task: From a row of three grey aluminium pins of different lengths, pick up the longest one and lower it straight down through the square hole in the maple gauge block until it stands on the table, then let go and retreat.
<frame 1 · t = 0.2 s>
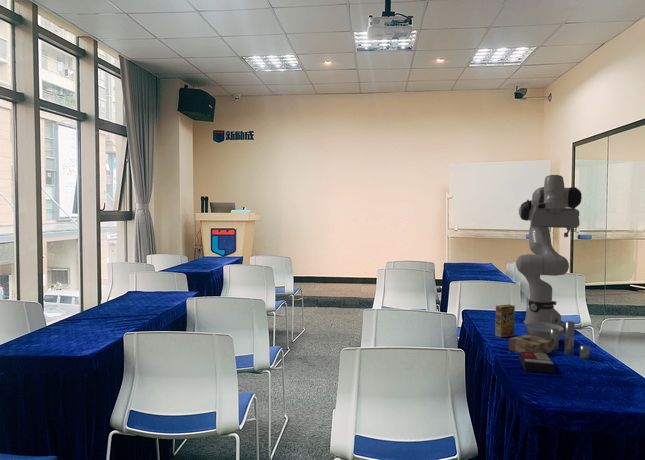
hand: (554, 236, 213), 52 cm above the table, tool tilted 20°, fingers open, 8 cm apart
short pin: (584, 357, 201), on the table
medium pin: (553, 348, 213), on the table
calculator: (535, 366, 191), on the table
cereal bowl: (544, 341, 226), on the table
long pin: (568, 353, 207), on the table
candy box: (504, 336, 233), on the table
gauge block: (529, 350, 210), on the table
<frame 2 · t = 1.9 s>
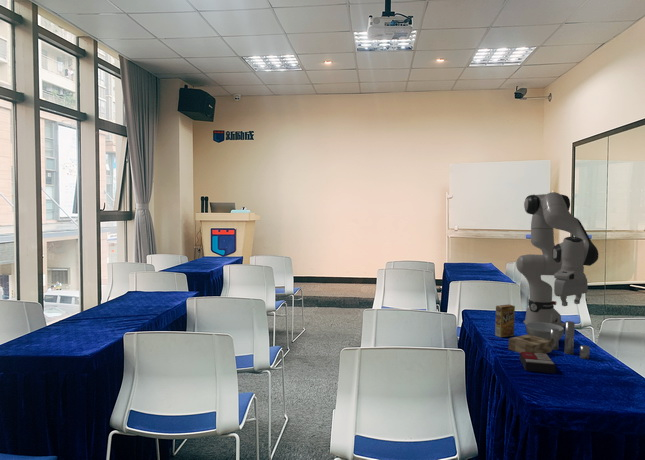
hand: (570, 304, 206), 22 cm above the table, tool pointing down, fingers open, 8 cm apart
nothing on the table moved.
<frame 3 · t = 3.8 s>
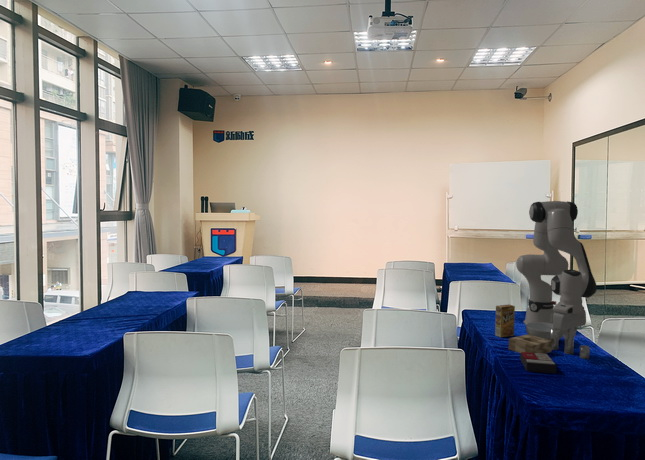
hand: (569, 337, 207), 7 cm above the table, tool pointing down, fingers closed on long pin, 4 cm apart
long pin: (568, 353, 207), on the table, touching gripper
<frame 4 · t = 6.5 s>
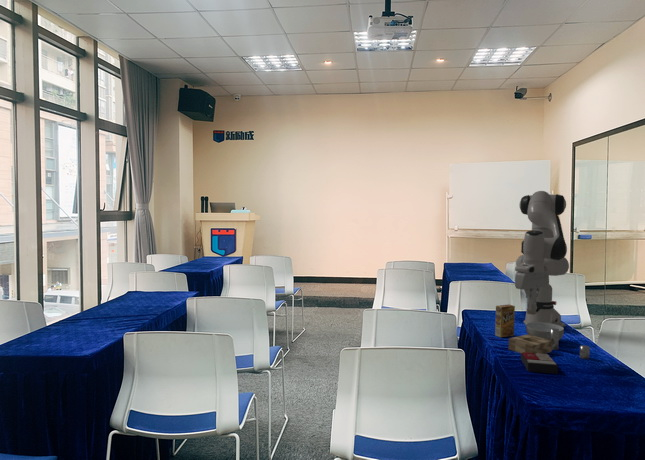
hand: (531, 297, 209), 24 cm above the table, tool pointing down, fingers closed on long pin, 4 cm apart
long pin: (531, 313, 209), point 17 cm above the table, touching gripper
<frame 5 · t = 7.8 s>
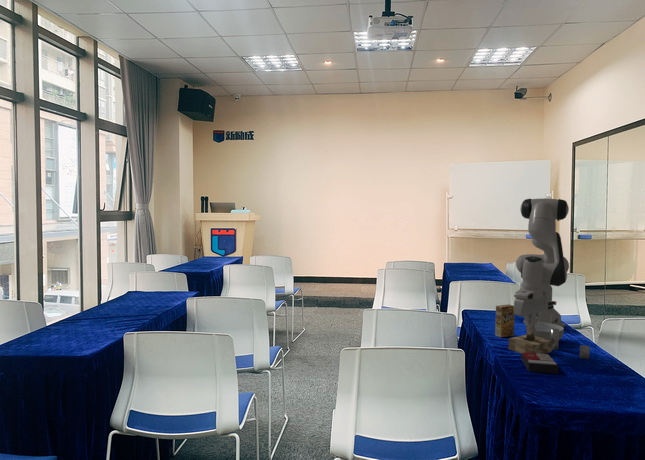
hand: (530, 323, 209), 13 cm above the table, tool pointing down, fingers closed on long pin, 4 cm apart
long pin: (530, 339, 210), point 5 cm above the table, touching gripper
when the fingers open (8 cm above the table, at t = 9.1 s): long pin stays where it is, resting in gauge block.
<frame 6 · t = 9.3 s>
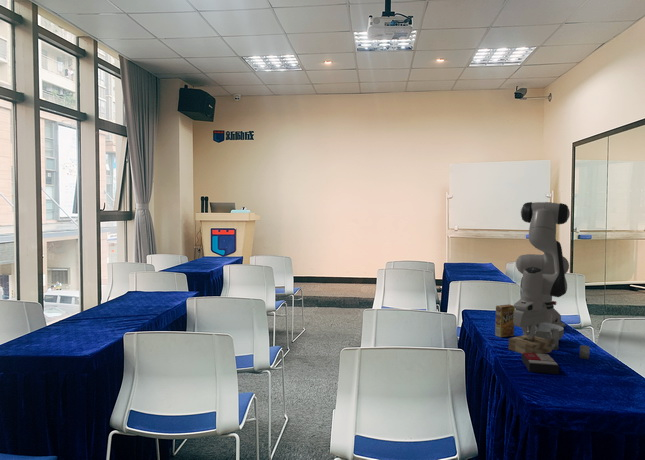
hand: (530, 334, 210), 8 cm above the table, tool pointing down, fingers open, 5 cm apart
long pin: (530, 350, 210), resting in gauge block
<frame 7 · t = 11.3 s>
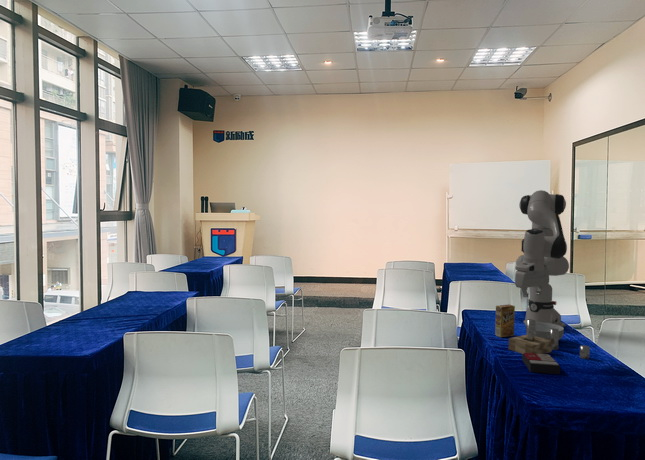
hand: (532, 296, 209), 25 cm above the table, tool pointing down, fingers open, 8 cm apart
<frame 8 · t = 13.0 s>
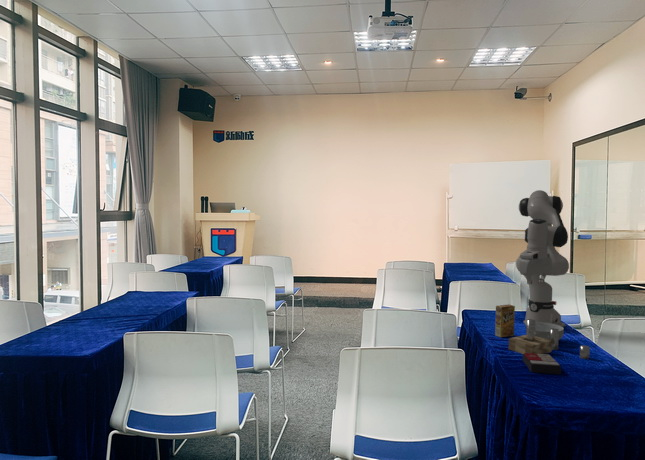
hand: (535, 283, 218), 29 cm above the table, tool pointing down, fingers open, 8 cm apart
at the end: long pin 0.1 cm off-centre on the gauge block, point 0.0 cm above the gauge block's base; long pin tilted 0°; the gripper is holding nothing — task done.
